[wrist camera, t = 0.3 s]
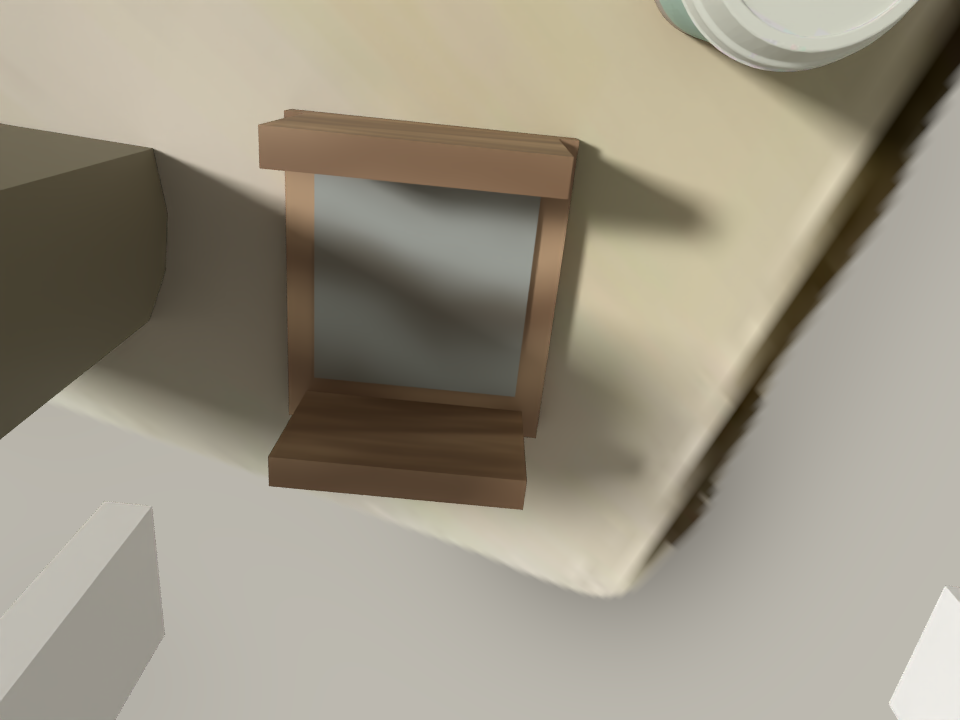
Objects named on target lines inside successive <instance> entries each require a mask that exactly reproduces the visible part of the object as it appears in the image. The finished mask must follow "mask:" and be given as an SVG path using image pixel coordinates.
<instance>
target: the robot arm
mask: <svg viewBox="0 0 960 720" xmlns="http://www.w3.org/2000/svg"><path fill="white" fill-rule="evenodd" d="M164 631H165V630H164V621H163V610H162V601H161V591H160V580H159V570H158V561H157V551H156V540H155V530H154V520H153V510H152V506H148V505H137V504H128V503H117V502H108V501H104V502H103V504H101V506H100V507H99V508H98V509H97V510H96V511H95V512H94V514H93V515H92V516H91V517H90V518H89V519H88V520H87V521H86V522H85V524H84V525H83V526H82V527H81V528H80V529H79V530H78V531H77V533H76V534H75V535H74V536H73V537H72V538H71V539H70V541H69V542H68V543H67V544H66V545H65V546H64V547H63V548H62V549H61V550H60V552H59V553H58V554H57V555H56V556H55V557H54V558H53V559H52V561H51V562H50V563H49V564H48V565H47V566H46V567H45V568H44V570H43V571H42V572H41V573H40V574H39V575H38V576H37V577H36V579H35V580H34V581H33V582H32V583H31V584H30V585H29V586H28V587H27V589H26V590H25V591H24V592H23V593H22V594H21V595H20V597H19V598H18V599H17V600H16V601H15V602H14V603H13V604H12V605H11V607H10V608H9V609H8V610H7V611H6V612H5V613H4V614H3V615H2V617H1V618H0V720H116V718H117V716H118V714H119V713H120V711H121V709H122V707H123V706H124V704H125V702H126V701H127V699H128V697H129V695H130V694H131V692H132V690H133V688H134V687H135V685H136V683H137V682H138V680H139V678H140V676H141V675H142V673H143V671H144V670H145V667H146V666H147V664H148V662H149V661H150V659H151V657H152V656H153V654H154V652H155V650H156V649H157V647H158V645H159V643H160V642H161V640H162V638H163V636H164V635H165V632H164ZM889 705H890V707H891V709H892V710H893V712H894V713H895V715H896V717H897V718H898V720H960V587H953V586H945V587H944V589H943V591H942V593H941V596H940V597H939V600H938V602H937V604H936V606H935V608H934V610H933V612H932V614H931V616H930V618H929V621H928V623H927V625H926V627H925V629H924V631H923V633H922V635H921V637H920V639H919V641H918V644H917V646H916V648H915V650H914V652H913V654H912V656H911V658H910V660H909V663H908V664H907V667H906V669H905V671H904V673H903V675H902V677H901V679H900V681H899V683H898V685H897V687H896V690H895V692H894V694H893V696H892V698H891V700H890V702H889Z"/></svg>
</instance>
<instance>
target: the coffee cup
mask: <svg viewBox="0 0 960 720" xmlns="http://www.w3.org/2000/svg"><path fill="white" fill-rule="evenodd" d="M918 1H919V0H655V2H656V5H657V7H658V9H659V10H660V12H661V13H662V15H663V16H664V18H665V19H666V20H667V21H668V22H669V23H670V24H671V25H673V26H674V27H675V28H677V29H678V30H680V31H682V32H684V33H686V34H688V35H691V36H693V37H696V38H699V39H701V40H704V41H707V42H710V43H711V44H712V45H713V46H715V47H716V48H717V49H718V50H720V51H721V52H722V53H724V54H725V55H727V56H728V57H730V58H732V59H734V60H736V61H738V62H740V63H742V64H745V65H747V66H750V67H754V68H757V69H762V70H767V71H776V72H794V71H803V70H809V69H814V68H818V67H821V66H824V65H827V64H830V63H833V62H835V61H838V60H840V59H842V58H844V57H847V56H849V55H851V54H853V53H855V52H857V51H859V50H861V49H863V48H864V47H866V46H868V45H869V44H871V43H872V42H874V41H875V40H877V39H878V38H880V37H881V36H882V35H883V34H885V33H886V32H887V31H888V30H890V29H891V28H892V27H893V26H894V25H895V24H896V23H897V22H899V21H900V20H901V19H902V17H903V16H904V15H905V14H906V13H907V12H908V11H909V10H910V9H911V8H912V7H913V6H914V5H915V4H916V3H917V2H918Z"/></svg>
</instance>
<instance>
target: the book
mask: <svg viewBox="0 0 960 720" xmlns="http://www.w3.org/2000/svg"><path fill="white" fill-rule="evenodd" d="M166 240H167V209H166V205H165V200H164V196H163V191H162V187H161V183H160V178H159V174H158V169H157V165H156V160H155V156H154V151H153V148H147V147H141V146H135V145H129V144H122V143H116V142H110V141H104V140H98V139H91V138H85V137H79V136H73V135H67V134H60V133H54V132H48V131H42V130H36V129H29V128H23V127H17V126H11V125H5V124H0V439H1V438H2V437H4V436H5V435H6V434H8V433H9V432H10V431H11V430H13V429H14V428H15V427H16V426H18V425H19V424H20V423H21V422H23V421H24V420H25V419H26V418H28V417H29V416H30V415H31V414H33V413H34V412H35V411H36V410H38V409H39V408H40V407H41V406H43V405H44V404H45V403H46V402H48V401H49V400H50V399H51V398H53V397H54V396H55V395H56V394H58V393H59V392H60V391H61V390H63V389H64V388H65V387H66V386H68V385H69V384H70V383H72V382H73V381H74V380H75V379H77V378H78V377H79V376H80V375H82V374H83V373H84V372H85V371H87V370H88V369H89V368H90V367H92V366H93V365H94V364H95V363H97V362H98V361H99V360H100V359H102V358H103V357H104V356H105V355H107V354H108V353H109V352H110V351H112V350H113V349H114V348H115V347H117V346H118V345H119V344H120V343H122V342H123V341H124V340H125V339H127V338H128V337H129V336H130V335H132V334H133V333H134V332H135V331H137V330H138V329H139V328H140V327H142V326H143V325H144V324H145V323H147V322H148V321H149V320H150V317H151V313H152V310H153V307H154V304H155V301H156V298H157V295H158V292H159V289H160V286H161V282H162V279H163V276H164V273H165V270H166Z"/></svg>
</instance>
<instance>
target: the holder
mask: <svg viewBox="0 0 960 720" xmlns="http://www.w3.org/2000/svg"><path fill="white" fill-rule="evenodd" d="M258 133H259V167H260V168H262V169H272V170H282V171H285V198H286V263H287V327H288V391H289V415H292V417H291V418H290V420H289V422H288V424H287V425H286V427H285V429H284V430H283V432H282V434H281V436H280V437H279V439H278V441H277V443H276V444H275V446H274V448H273V449H272V451H271V453H270V455H269V456H268V468H269V486H273V487H284V488H295V489H306V490H316V491H327V492H338V493H349V494H359V495H370V496H381V497H392V498H402V499H413V500H424V501H435V502H446V503H456V504H467V505H478V506H489V507H499V508H510V509H521V510H523V504H524V497H525V490H526V484H527V476H526V463H525V450H524V437H531V438H536V433H537V426H538V420H539V413H540V406H541V399H542V392H543V386H544V379H545V372H546V365H547V358H548V352H549V345H550V338H551V331H552V324H553V318H554V311H555V304H556V297H557V290H558V284H559V277H560V270H561V263H562V256H563V250H564V243H565V236H566V229H567V222H568V216H569V209H570V202H571V195H572V188H573V182H574V175H575V168H576V161H577V154H578V148H579V140H578V139H576V138H566V137H557V136H547V135H537V134H528V133H518V132H508V131H498V130H489V129H479V128H469V127H460V126H450V125H440V124H430V123H421V122H411V121H401V120H392V119H382V118H372V117H363V116H353V115H343V114H333V113H324V112H314V111H304V110H295V109H289V110H285V111H284V118H283V119H279V120H275V121H271V122H267V123H263V124H259V125H258Z"/></svg>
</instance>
